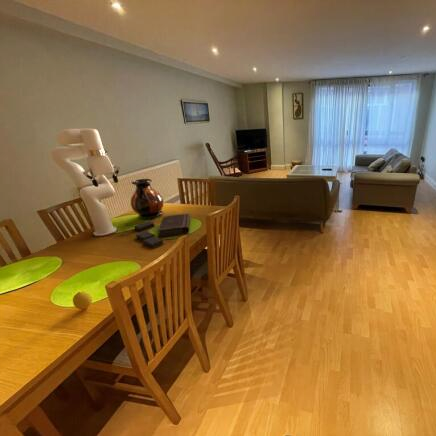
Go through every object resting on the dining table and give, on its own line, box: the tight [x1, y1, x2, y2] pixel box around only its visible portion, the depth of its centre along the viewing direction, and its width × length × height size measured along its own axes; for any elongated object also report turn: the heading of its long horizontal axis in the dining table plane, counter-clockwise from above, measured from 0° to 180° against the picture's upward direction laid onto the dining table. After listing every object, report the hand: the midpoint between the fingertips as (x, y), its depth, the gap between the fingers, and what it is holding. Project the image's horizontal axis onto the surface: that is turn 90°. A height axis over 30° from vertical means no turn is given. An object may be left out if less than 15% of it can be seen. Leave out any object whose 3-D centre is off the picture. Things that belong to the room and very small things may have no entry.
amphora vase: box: [130, 178, 165, 220], centre depth 181 cm, size 22×22×28 cm
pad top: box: [133, 220, 155, 233], centre depth 165 cm, size 10×6×3 cm, turn 148°
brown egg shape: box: [72, 290, 93, 310], centre depth 93 cm, size 6×6×8 cm
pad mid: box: [135, 230, 156, 241], centre depth 150 cm, size 10×6×3 cm, turn 58°
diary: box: [157, 213, 191, 238], centre depth 164 cm, size 19×25×5 cm
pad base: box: [143, 236, 164, 249], centre depth 143 cm, size 10×6×3 cm, turn 58°
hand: (106, 184), depth 135 cm, fingers open, 9 cm apart
